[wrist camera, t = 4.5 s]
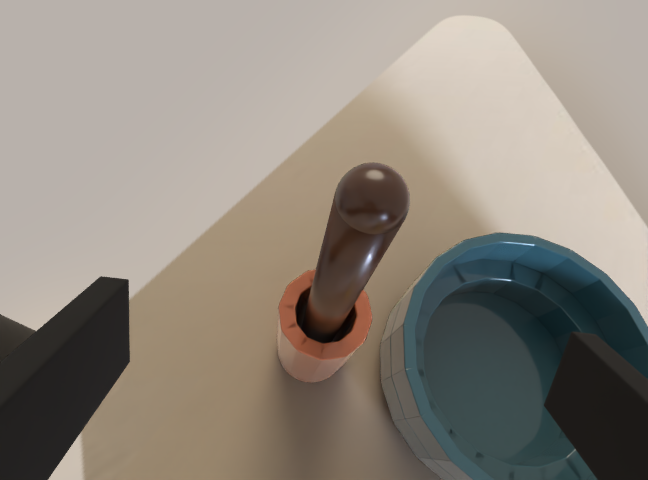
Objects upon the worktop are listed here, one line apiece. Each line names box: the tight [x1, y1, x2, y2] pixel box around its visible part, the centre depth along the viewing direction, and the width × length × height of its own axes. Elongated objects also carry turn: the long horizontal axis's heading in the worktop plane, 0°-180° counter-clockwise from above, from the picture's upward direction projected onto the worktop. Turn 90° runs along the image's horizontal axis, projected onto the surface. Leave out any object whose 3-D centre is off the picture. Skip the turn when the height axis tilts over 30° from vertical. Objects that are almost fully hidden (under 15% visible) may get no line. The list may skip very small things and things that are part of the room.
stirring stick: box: [301, 163, 410, 343], centre depth 19 cm, size 2×2×20 cm
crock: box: [277, 270, 372, 383], centre depth 25 cm, size 5×5×9 cm
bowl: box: [380, 233, 648, 480], centre depth 27 cm, size 15×15×6 cm
